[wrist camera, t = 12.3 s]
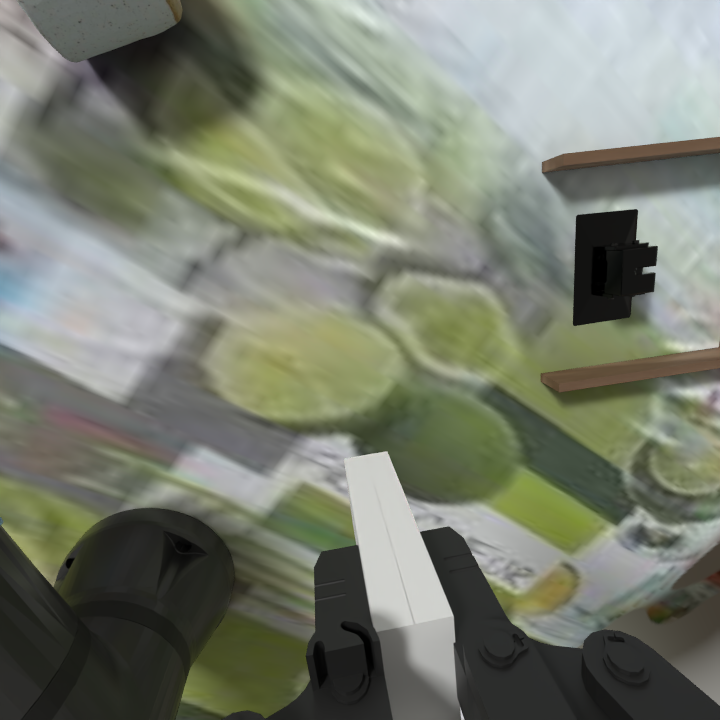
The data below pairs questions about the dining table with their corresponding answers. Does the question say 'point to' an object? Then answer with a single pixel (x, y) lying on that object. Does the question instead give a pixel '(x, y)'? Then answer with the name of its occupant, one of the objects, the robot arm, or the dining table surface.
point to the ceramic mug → (99, 23)
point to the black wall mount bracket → (609, 266)
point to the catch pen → (645, 366)
